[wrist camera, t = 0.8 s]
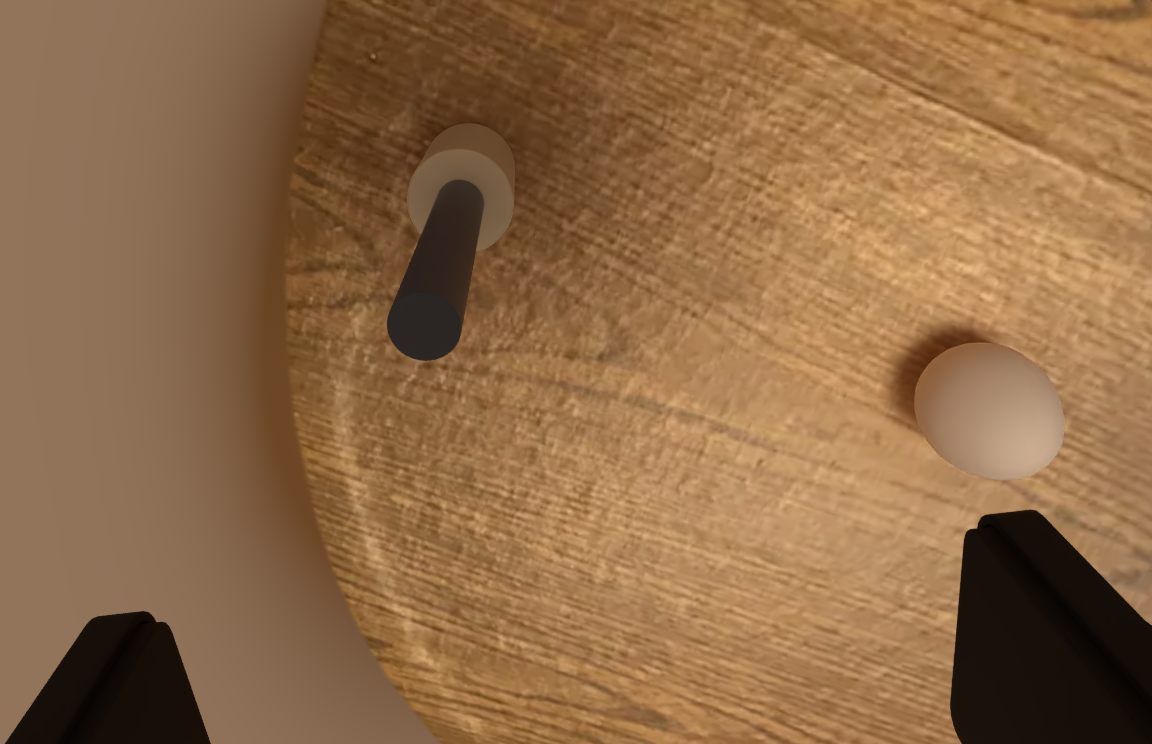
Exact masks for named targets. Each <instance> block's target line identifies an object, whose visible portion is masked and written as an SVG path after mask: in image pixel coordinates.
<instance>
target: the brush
mask: <svg viewBox="0 0 1152 744" xmlns="http://www.w3.org/2000/svg"><path fill="white" fill-rule="evenodd" d="M515 172H516V170H515V161H514V157H513V154H512V152H511V149H510V147H509V146H508V144H507V143H506V142H505V140H504V139H503V138H502V137H501V136H500V135H499V134H498V133H496V132H495V131H493V130H492V129H490V128H488V127H486V126H483V125H479V124H474V123H462V124H457V125H454V126H451V127H449V128H447V129H445V130H444V131H442V132H441V133H440V134H439V135H438V136H437V137H436V138H435V139H434V140H433V141H432V143H431V145H430V146H429V148H428V150H427V151H426V153H425V155H424V157H423V158H422V160H421V162H420V163H419V165H418V167H417V169H416V170H415V172H414V174H413V176H412V178H411V180H410V183H409V186H408V191H407V208H408V212H409V216H410V218H411V221H412V223H413V225H414V227H415V228H416V230H417V231H418V233H419V234H420V235H421V236H420V239H419V241H418V244H417V246H416V249H415V251H414V254H413V256H412V258H411V261H410V263H409V266H408V268H407V271H406V273H405V276H404V278H403V280H402V283H401V285H400V288H399V290H398V293H397V295H396V298H395V300H394V302H393V305H392V307H391V310H390V312H389V315H388V320H387V329H388V334H389V337H390V339H391V341H392V342H393V344H394V345H395V347H396V348H397V349H398V350H399V351H401V352H402V353H403V354H405V355H406V356H408V357H411V358H413V359H417V360H424V361H428V360H435V359H439V358H441V357H443V356H445V355H447V354H448V353H449V352H451V351H452V350H453V349H454V348H455V346H456V345H457V343H458V341H459V339H460V336H461V331H462V325H463V320H464V314H465V309H466V303H467V298H468V292H469V287H470V281H471V276H472V270H473V265H474V259H475V254H476V252H479V251H482V250H484V249H486V248H488V247H490V246H491V245H493V244H494V243H495V242H496V241H498V240H499V239H500V238H501V237H502V235H503V234H504V233H505V231H506V230H507V228H508V226H509V224H510V221H511V219H512V215H513V209H514V192H515Z"/></svg>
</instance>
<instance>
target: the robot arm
mask: <svg viewBox="0 0 1152 744" xmlns="http://www.w3.org/2000/svg"><path fill="white" fill-rule="evenodd" d="M950 710H951V717H952V721H953V725H954V728H955V731H956V734H957V736H958V738H959V740H960V741H961V743H962V744H1152V626H1151V625H1150V624H1149V623H1148V622H1146V621H1145V620H1144V619H1143V618H1142V617H1141V616H1140V615H1139V614H1138V613H1137V612H1136V611H1135V610H1134V609H1133V608H1132V607H1131V606H1130V605H1129V604H1128V603H1127V602H1126V601H1125V600H1124V599H1123V597H1122V596H1121V595H1120V594H1119V593H1118V592H1117V591H1116V590H1115V589H1114V588H1113V587H1112V586H1111V585H1110V584H1109V583H1108V582H1107V581H1106V580H1105V579H1104V578H1103V577H1102V576H1101V575H1100V574H1099V573H1098V572H1097V571H1096V570H1095V569H1094V568H1093V567H1092V566H1091V565H1090V564H1089V563H1088V561H1087V560H1086V559H1085V558H1084V557H1083V556H1082V555H1081V554H1080V553H1079V552H1078V551H1077V550H1076V549H1075V548H1074V547H1073V546H1072V545H1071V544H1070V543H1069V542H1068V541H1067V540H1066V539H1065V538H1064V537H1063V536H1062V535H1061V534H1060V533H1059V532H1058V531H1057V530H1056V529H1055V528H1054V527H1053V526H1052V524H1051V523H1050V522H1049V521H1048V520H1047V519H1046V518H1045V517H1044V516H1043V515H1041V514H1040V513H1039V512H1037V511H1035V510H1023V511H1015V512H1006V513H997V514H988V515H984V516H983V517H981V519H980V521H979V522H978V527H977V529H970V530H968V531H967V532H966V534H965V538H964V546H963V558H962V570H961V581H960V593H959V605H958V617H957V629H956V641H955V653H954V665H953V677H952V689H951V701H950ZM5 744H211V743H210V740H209V737H208V735H207V732H206V729H205V726H204V723H203V720H202V717H201V714H200V712H199V709H198V706H197V703H196V700H195V697H194V694H193V691H192V689H191V685H190V682H189V680H188V677H187V674H186V671H185V668H184V665H183V662H182V659H181V656H180V654H179V651H178V648H177V645H176V642H175V639H174V636H173V633H172V631H171V629H170V627H169V626H168V625H167V624H166V623H165V622H156V621H155V619H154V617H153V616H152V615H151V614H150V613H149V612H145V611H141V612H132V613H123V614H115V615H106V616H98V617H95V618H93V619H91V620H90V621H89V622H88V624H86V626H85V627H84V629H83V630H82V632H81V633H80V635H79V636H78V638H77V639H76V641H75V642H74V644H73V645H72V646H71V648H70V649H69V651H68V652H67V654H66V655H65V657H64V658H63V660H62V661H61V662H60V664H59V666H58V667H57V668H56V670H55V671H54V673H53V674H52V676H51V677H50V679H49V680H48V682H47V683H46V684H45V686H44V687H43V689H42V690H41V692H40V693H39V695H38V696H37V698H36V699H35V701H34V702H33V703H32V705H31V707H30V708H29V709H28V711H27V712H26V714H25V716H24V717H23V718H22V720H21V721H20V723H19V724H18V725H17V727H16V728H15V730H14V731H13V733H12V734H11V736H10V737H9V739H8V740H7V742H6V743H5Z"/></svg>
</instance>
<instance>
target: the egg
mask: <svg viewBox="0 0 1152 744" xmlns="http://www.w3.org/2000/svg"><path fill="white" fill-rule="evenodd" d="M914 408H915V414H916V420H917V423H918V426H919V427H920V429H921V431H922V433H923V435H924V437H925V438H926V440H927V441H928V443H929V444H930V445H931V446H932V448H933V449H934V450H935V451H936V452H937V453H938V454H939V455H940V456H941V457H942V458H944V459H945V460H946V461H948V462H949V463H950V464H952V465H954V466H955V467H957V468H959V469H961V470H963V471H965V472H967V473H969V474H972V475H976V476H980V477H984V478H988V479H993V480H1014V479H1022V478H1025V477H1029V476H1032V475H1034V474H1035V473H1037V472H1038V471H1040V470H1042V469H1043V468H1045V467H1046V466H1048V465H1049V464H1050V463H1051V461H1052V460H1053V459H1054V458H1055V457H1056V455H1057V453H1058V452H1059V450H1060V448H1061V446H1062V442H1063V437H1064V426H1065V418H1064V414H1063V409H1062V405H1061V401H1060V397H1059V395H1058V393H1057V391H1056V389H1055V387H1054V385H1053V383H1052V382H1051V380H1050V379H1049V378H1048V376H1047V375H1046V374H1045V373H1044V372H1043V371H1042V370H1041V369H1040V368H1039V367H1038V366H1037V365H1036V364H1035V363H1034V362H1032V361H1031V360H1029V359H1028V358H1027V357H1025V356H1024V355H1023V354H1021V353H1019V352H1017V351H1015V350H1013V349H1011V348H1009V347H1006V346H1002V345H997V344H992V343H983V342H980V343H965V344H962V345H959V346H956V347H953V348H950V349H947V350H946V351H944V352H943V353H941V354H940V355H938V356H937V357H935V358H934V359H933V360H932V361H931V362H930V363H929V364H928V365H927V367H926V368H925V370H924V371H923V373H922V374H921V376H920V378H919V380H918V383H917V385H916V390H915V399H914Z"/></svg>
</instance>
